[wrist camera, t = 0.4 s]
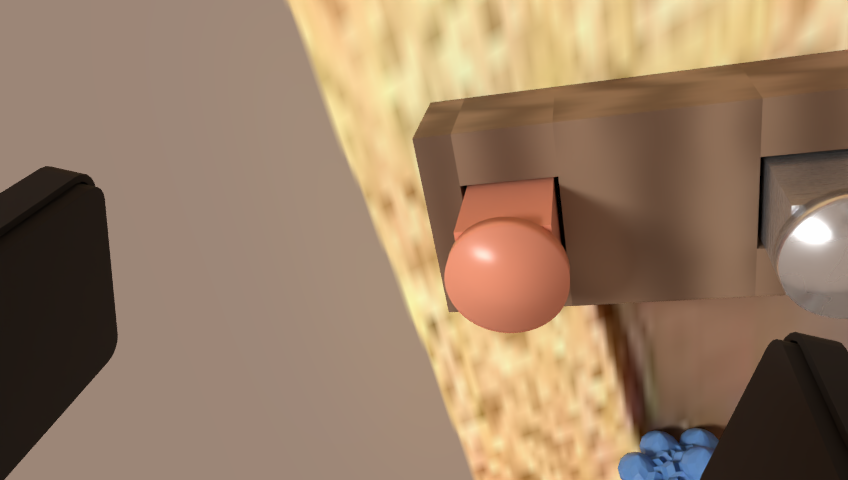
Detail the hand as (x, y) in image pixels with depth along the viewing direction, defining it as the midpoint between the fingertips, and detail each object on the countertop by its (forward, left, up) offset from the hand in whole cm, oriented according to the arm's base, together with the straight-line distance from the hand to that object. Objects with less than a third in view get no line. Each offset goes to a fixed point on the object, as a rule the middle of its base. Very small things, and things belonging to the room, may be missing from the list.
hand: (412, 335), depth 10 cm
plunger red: (+13, +5, -30) cm, 33 cm away
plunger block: (+9, +12, -35) cm, 38 cm away
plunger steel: (+5, +19, -30) cm, 36 cm away
